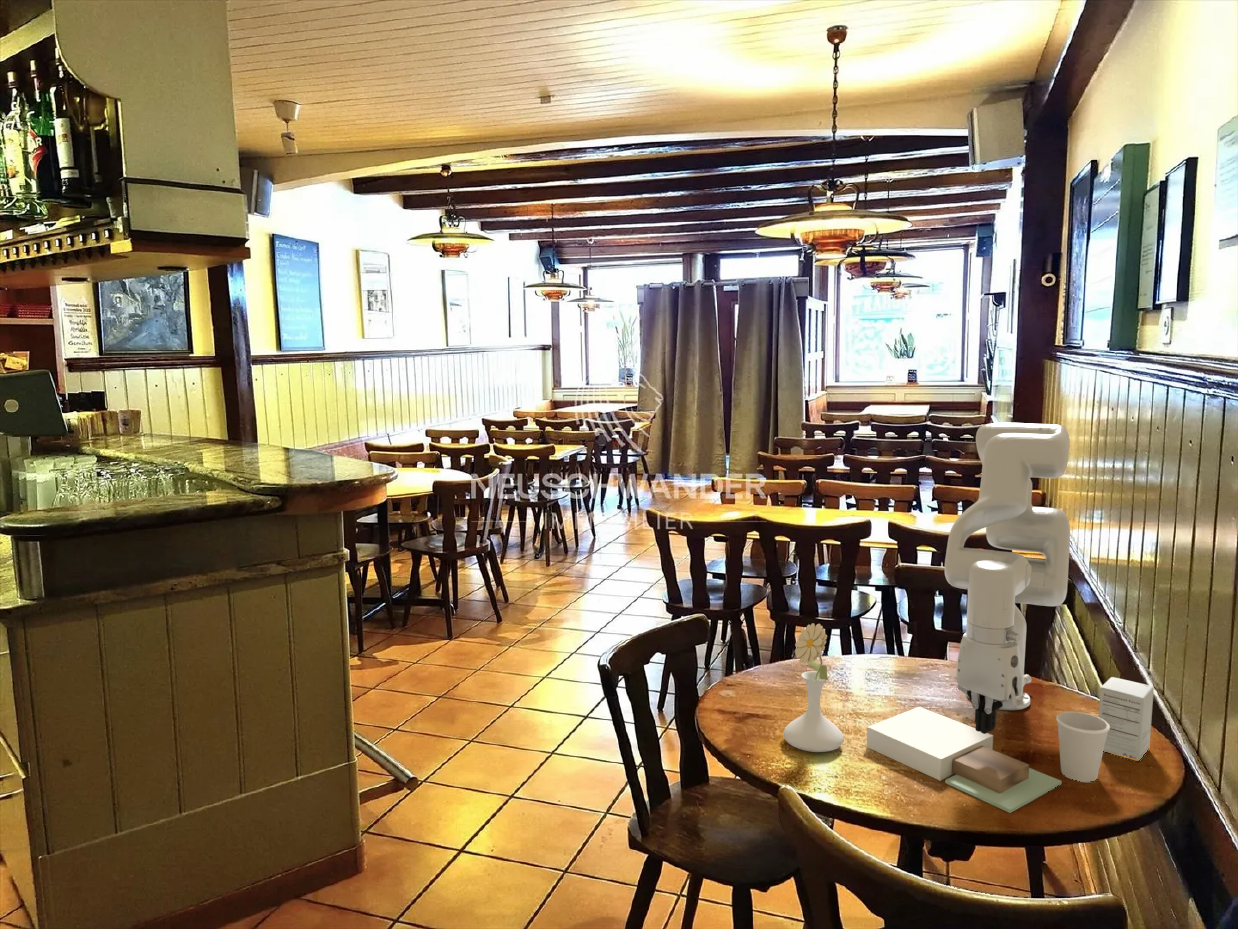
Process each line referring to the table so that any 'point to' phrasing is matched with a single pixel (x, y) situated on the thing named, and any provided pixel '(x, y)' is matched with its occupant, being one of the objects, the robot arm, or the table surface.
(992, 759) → the walnut block
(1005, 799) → the green mat
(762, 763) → the table surface
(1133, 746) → the supplement box
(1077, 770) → the dixie cup
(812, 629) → the flower in vase
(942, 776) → the flat white rectangular box
